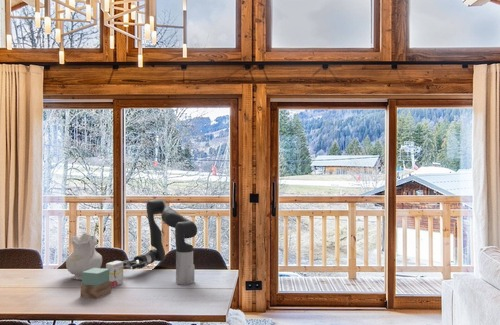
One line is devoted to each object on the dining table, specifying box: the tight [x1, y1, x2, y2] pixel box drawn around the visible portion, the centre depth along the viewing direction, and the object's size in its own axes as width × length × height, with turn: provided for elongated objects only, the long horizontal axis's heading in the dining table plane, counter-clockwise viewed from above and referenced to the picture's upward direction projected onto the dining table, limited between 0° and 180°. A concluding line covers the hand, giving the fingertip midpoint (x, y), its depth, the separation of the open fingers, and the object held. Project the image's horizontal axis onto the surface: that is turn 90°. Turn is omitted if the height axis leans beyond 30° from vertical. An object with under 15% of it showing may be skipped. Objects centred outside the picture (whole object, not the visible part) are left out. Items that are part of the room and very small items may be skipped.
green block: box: [81, 267, 109, 286], centre depth 194 cm, size 9×9×6 cm
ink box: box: [105, 260, 124, 288], centre depth 210 cm, size 9×5×12 cm, turn 156°
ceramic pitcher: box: [65, 232, 103, 281], centre depth 224 cm, size 22×20×25 cm
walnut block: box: [80, 281, 112, 300], centre depth 193 cm, size 10×10×6 cm
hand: (126, 266), depth 220 cm, fingers open, 8 cm apart
